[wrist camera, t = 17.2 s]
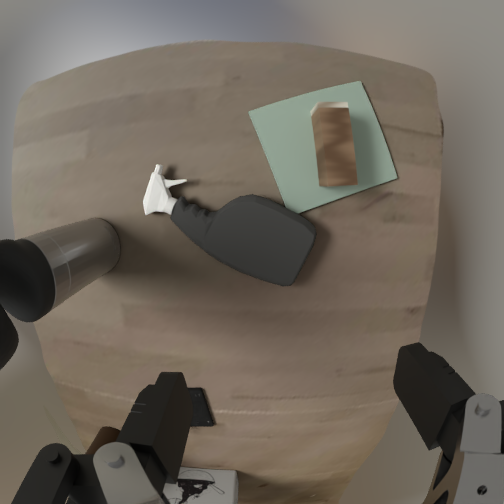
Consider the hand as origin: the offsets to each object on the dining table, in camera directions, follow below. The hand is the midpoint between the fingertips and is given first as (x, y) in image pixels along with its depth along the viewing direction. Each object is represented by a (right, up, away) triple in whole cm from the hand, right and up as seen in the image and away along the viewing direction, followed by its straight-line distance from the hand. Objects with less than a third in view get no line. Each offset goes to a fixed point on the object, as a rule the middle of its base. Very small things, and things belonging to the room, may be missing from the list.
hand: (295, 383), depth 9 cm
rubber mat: (+9, +20, +28) cm, 36 cm away
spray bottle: (-5, +9, +31) cm, 33 cm away
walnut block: (+10, +13, +26) cm, 31 cm away
